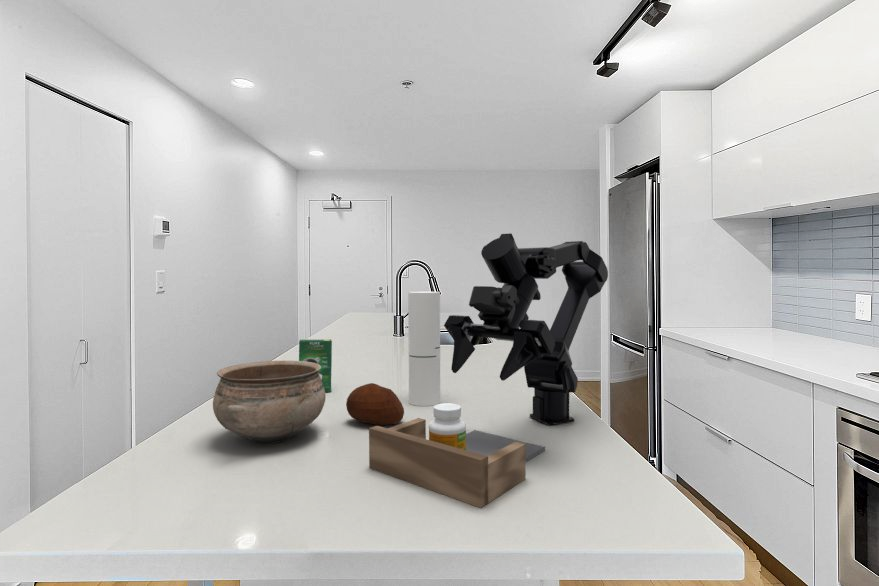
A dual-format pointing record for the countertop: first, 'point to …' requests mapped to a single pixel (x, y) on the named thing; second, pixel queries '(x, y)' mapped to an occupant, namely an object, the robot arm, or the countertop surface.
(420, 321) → the cylindrical container
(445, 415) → the supplement bottle
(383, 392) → the potato
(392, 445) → the brown walled open frame
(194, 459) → the countertop surface
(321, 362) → the coffee box
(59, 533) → the countertop surface
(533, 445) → the mat
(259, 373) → the cooking pot
